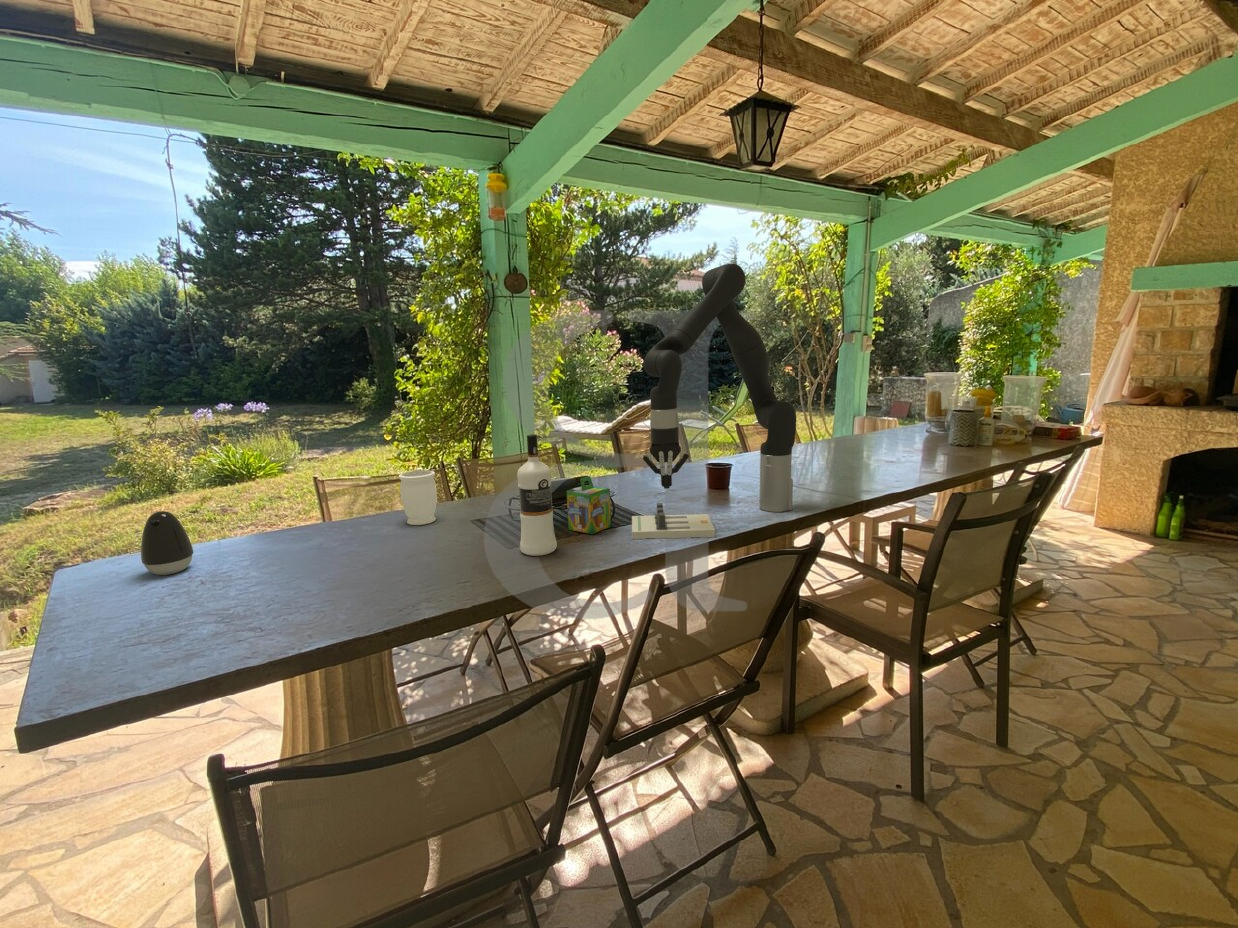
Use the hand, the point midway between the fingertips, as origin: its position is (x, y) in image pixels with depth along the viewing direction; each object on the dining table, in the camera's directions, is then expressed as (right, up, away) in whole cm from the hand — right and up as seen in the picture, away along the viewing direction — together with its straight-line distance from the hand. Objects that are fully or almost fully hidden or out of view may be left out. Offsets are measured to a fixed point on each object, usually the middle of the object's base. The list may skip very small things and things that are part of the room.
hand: (666, 487), depth 167 cm
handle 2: (-2, -10, -3) cm, 11 cm away
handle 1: (-1, -8, +7) cm, 11 cm away
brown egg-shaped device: (-123, -20, -18) cm, 126 cm away
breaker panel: (+2, -12, +2) cm, 12 cm away
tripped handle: (-2, -9, +2) cm, 10 cm away
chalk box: (-21, -12, +6) cm, 25 cm away
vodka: (-34, -16, -11) cm, 39 cm away
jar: (-73, -11, +18) cm, 76 cm away
